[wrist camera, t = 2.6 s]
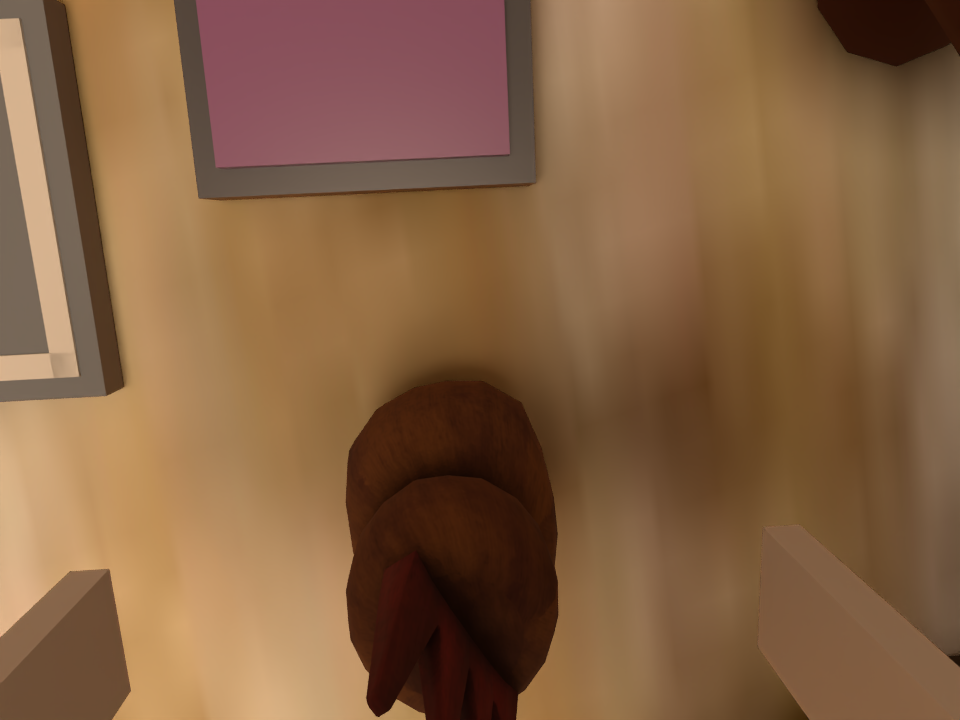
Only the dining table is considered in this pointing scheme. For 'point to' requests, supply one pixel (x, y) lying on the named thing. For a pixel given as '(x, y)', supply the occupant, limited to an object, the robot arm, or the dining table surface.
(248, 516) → the dining table surface
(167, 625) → the dining table surface
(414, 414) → the wooden figurine
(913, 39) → the ice cream bowl
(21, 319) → the marked board
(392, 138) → the ink pad
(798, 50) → the dining table surface
